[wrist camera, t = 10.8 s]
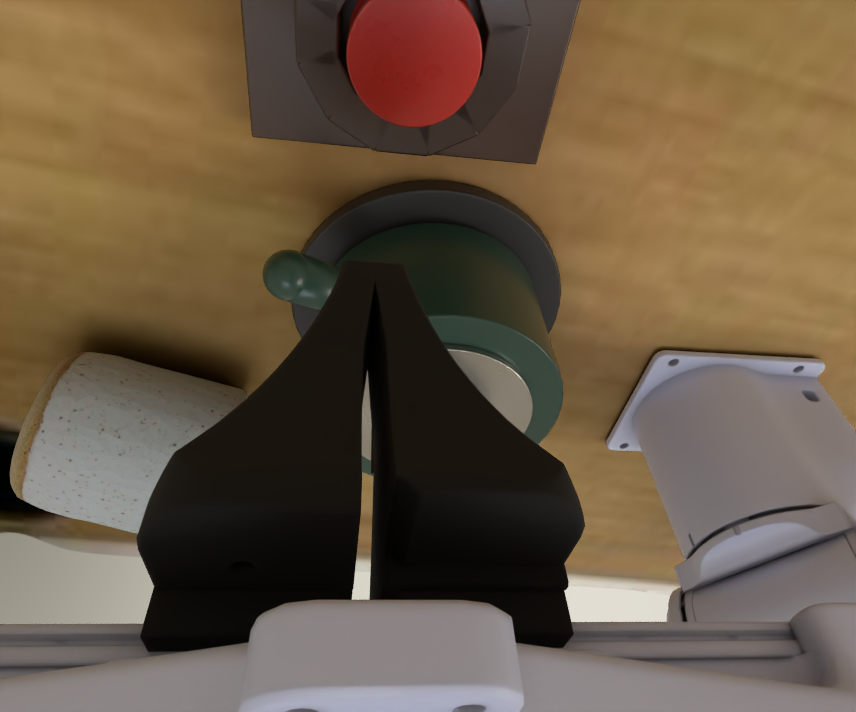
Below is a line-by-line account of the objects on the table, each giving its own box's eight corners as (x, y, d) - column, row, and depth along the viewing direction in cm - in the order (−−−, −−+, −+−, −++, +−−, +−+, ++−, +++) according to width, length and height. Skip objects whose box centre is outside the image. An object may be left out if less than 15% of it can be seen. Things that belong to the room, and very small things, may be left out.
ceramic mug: (73, 310, 26) (-10, 453, 20) (258, 360, 29) (227, 497, 23) (65, 442, 32) (0, 577, 27) (215, 472, 35) (183, 600, 30)
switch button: (486, -25, 16) (495, -8, 14) (463, 110, 18) (469, 134, 17) (351, -44, 15) (348, -28, 14) (347, 97, 18) (344, 121, 16)
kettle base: (456, 115, 21) (458, 125, 20) (602, 312, 28) (607, 323, 27) (235, 288, 26) (232, 299, 25) (407, 418, 32) (407, 430, 32)
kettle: (602, 357, 28) (668, 527, 22) (446, 439, 32) (462, 604, 26) (386, 99, 19) (388, 259, 13) (204, 257, 23) (134, 442, 17)
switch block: (600, -122, 16) (633, -109, 14) (530, 150, 22) (546, 189, 20) (233, -183, 15) (208, -178, 13) (257, 123, 21) (242, 162, 18)
